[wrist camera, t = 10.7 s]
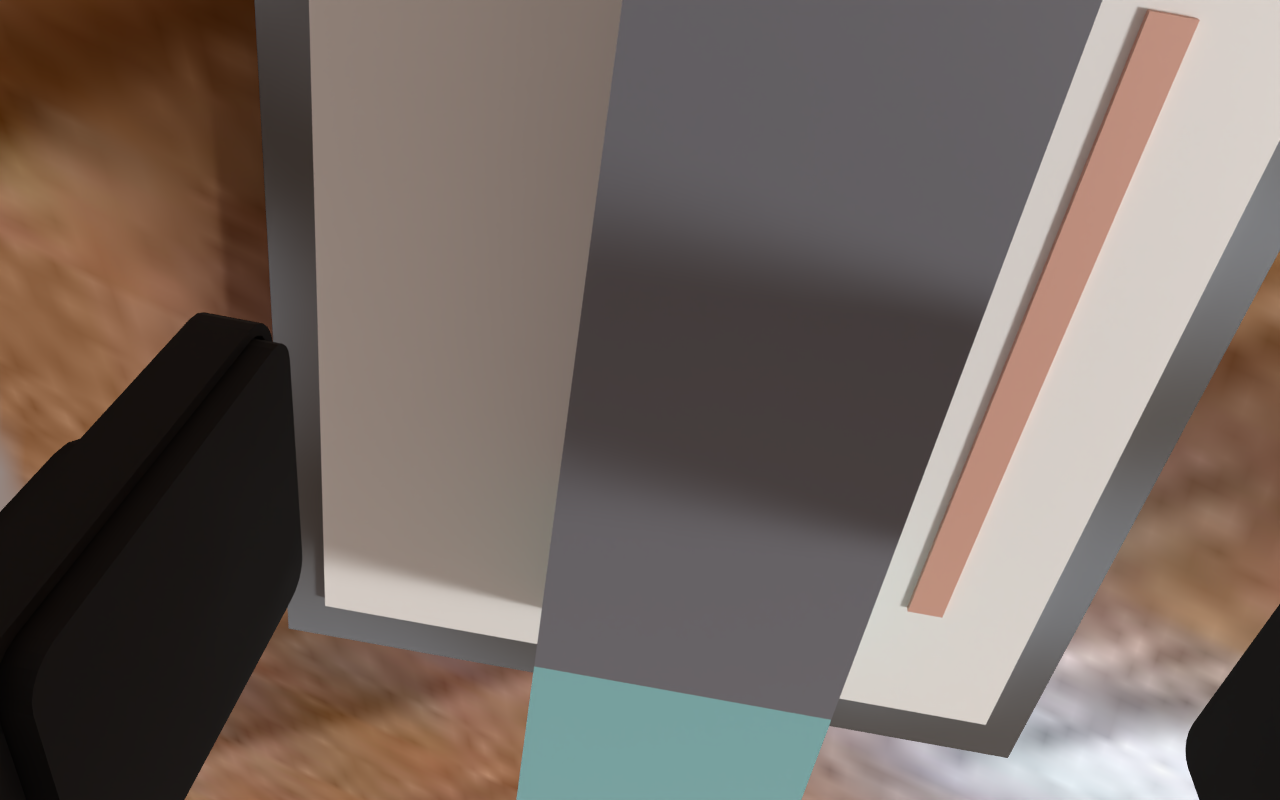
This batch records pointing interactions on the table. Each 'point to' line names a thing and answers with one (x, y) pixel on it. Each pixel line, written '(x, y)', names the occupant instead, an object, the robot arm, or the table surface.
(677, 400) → the teal-tipped grey bar
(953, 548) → the drawing board
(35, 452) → the table surface
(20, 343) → the table surface
